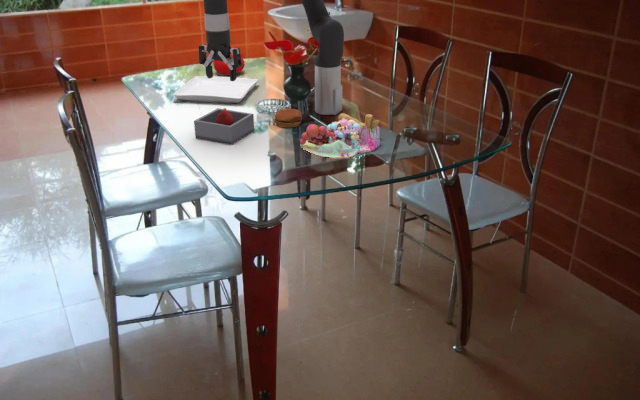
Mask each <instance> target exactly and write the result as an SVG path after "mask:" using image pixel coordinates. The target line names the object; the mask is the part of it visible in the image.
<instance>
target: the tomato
mask: <svg viewBox="0 0 640 400" xmlns="http://www.w3.org/2000/svg"><path fill="white" fill-rule="evenodd" d="M231 48H234V49H236V48H237V47H233V46H231ZM230 55H231V56H232V58H233V55H232V53H231V54H230ZM240 55H241V63H242V66H241V67H239V68H237V69H236V72H237V74H238V73H240V72H242V71H243V70H244V68H245V64H246V60H244V59H243V58H244V53H242V52H241V51H240ZM227 60H229V59H227ZM212 64H213V69H214V70H215V71H216V72H217V73H218V74H221V75H226V76H230V68H229V67H228V65H227V64H225V63H224V61H223V62H222V61H219V60H218V61H213V63H212Z"/></svg>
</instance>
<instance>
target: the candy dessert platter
mask: <svg viewBox="0 0 640 400" xmlns="http://www.w3.org/2000/svg"><path fill="white" fill-rule="evenodd" d="M364 117H365V118H364V122H361V121H359V120H358V118H355V117H352V116H350V114H347V113H345V112H342V113H340V114H339V115H338V116H337V121H332V122H331V123H329V124H328V125H327V126H325V125H320V126H318V125H317V124H314V123H310V124H309V125H308V126H307V127H306V130H305V131H304V132H303V133H302V134H301V139H300V140H299V146H300V148H303V150H306V151H308V152H310V153H313V154H315V155H314V156H316V155H317V156H316V157H320V156H321V157H320V158H323V157H329V158H328V159H333V160H336V159H337V160H338V159H351V158H354V157H355V156H357V154H360V153H368V152H369V153H371V152H374V151H375V150H376V149H377V148H379V146H380V145H381V139H380V129H381V128H380V127H379V122H380V120H379V119H374V120H372V119H373V114H371V113H367V114H365V116H364ZM313 154H312V155H313ZM353 156H354V157H353ZM350 157H351V158H350Z"/></svg>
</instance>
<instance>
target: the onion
mask: <svg viewBox="0 0 640 400" xmlns="http://www.w3.org/2000/svg"><path fill="white" fill-rule="evenodd" d="M222 109H223V110H222V111H221V112H220V113H219V114H218V115H217V117H216V123H217V124H223V125H229V126H230V125H232V124H234V120H233V116H232V115H231V114H230V113H229V112H228V111H226V110H227V108H226V107H224V108H222Z"/></svg>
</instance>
